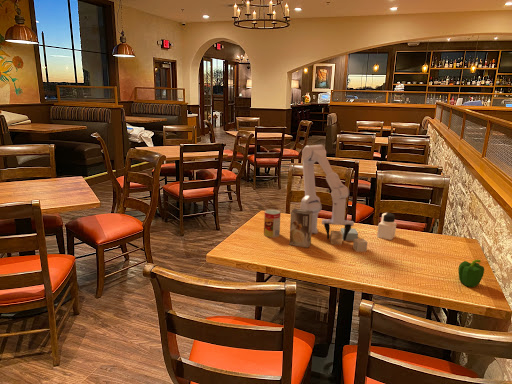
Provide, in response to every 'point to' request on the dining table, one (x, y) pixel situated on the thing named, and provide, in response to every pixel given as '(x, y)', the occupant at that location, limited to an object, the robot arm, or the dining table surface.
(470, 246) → the dining table surface
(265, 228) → the canned food
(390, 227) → the medicine bottle
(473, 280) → the bell pepper
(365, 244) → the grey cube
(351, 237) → the slate block
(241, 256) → the dining table surface
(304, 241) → the coffee box
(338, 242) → the maple cube
